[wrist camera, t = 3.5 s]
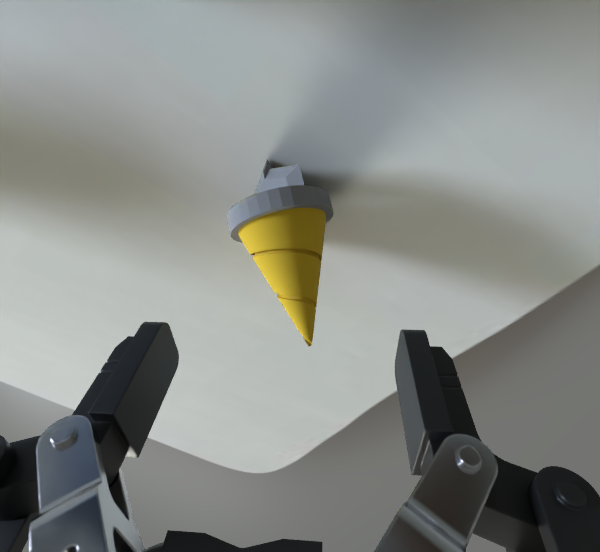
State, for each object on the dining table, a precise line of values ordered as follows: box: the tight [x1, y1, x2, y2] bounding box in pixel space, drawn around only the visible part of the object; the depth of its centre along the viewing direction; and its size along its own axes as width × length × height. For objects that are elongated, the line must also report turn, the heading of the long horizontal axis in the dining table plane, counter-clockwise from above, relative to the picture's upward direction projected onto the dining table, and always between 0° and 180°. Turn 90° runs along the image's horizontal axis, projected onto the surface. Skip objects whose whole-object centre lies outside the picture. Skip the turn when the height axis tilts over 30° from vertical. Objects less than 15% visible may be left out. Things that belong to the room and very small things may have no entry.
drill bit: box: [227, 160, 333, 346], centre depth 19 cm, size 5×5×10 cm
